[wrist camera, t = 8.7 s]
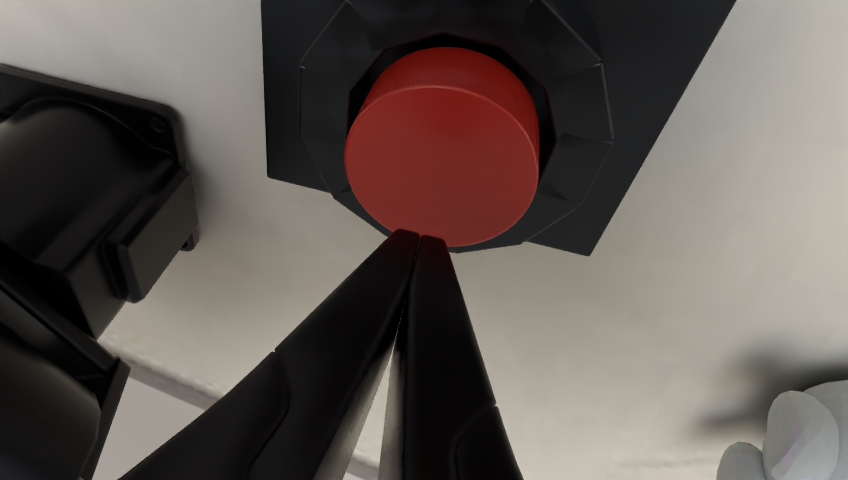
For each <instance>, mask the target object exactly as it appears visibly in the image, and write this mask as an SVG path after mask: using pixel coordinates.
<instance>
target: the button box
mask: <svg viewBox="0 0 848 480" xmlns="http://www.w3.org/2000/svg"><path fill="white" fill-rule="evenodd" d="M735 2H736V0H261V21H262V48H263V74H264V101H265V127H266V154H267V176H268V177H269V178H272V179H276V180H280V181H284V182H288V183H292V184H296V185H300V186H304V187H308V188H312V189H316V190H320V191H324V192H328V193H331V195H332V196H333V198H334V199H335V200H337V201H338V202H339V203H341V204H342V205H344V206H345V207H346V208H348V209H349V210H351V211H352V212H353V213H355V214H356V215H358V216H359V217H360V218H362V219H363V220H364V221H366V222H367V223H369V224H370V225H371V226H373V227H374V228H376V229H377V230H378V231H380V232H381V233H383V234H384V235H385V236H387V237H389V236H390V235H391V234H392V233H393V231H391V230H389V229H388V228H386V227H385V226H383V225H382V224H380V223H379V222H378V221H377V220H375V219H374V218H373V217H372V216H371V215H370V214H369V213H368V212H367V211H366V210H365V209H364V207H363V206H362V205H361V204H360V202H359V201H358V199H357V198H356V196H355V195H354V193H353V191H352V189H351V186H350V184H349V181H348V178H347V174H346V170H345V163H344V150H345V144H346V140H347V137H348V134H349V131H350V129H351V127H352V125H353V123H354V121H355V119H356V117H357V115H358V113H359V111H360V109H361V107H362V105H363V103H364V101H365V99H366V97H367V95H368V93H369V91H370V89H371V88H372V86H373V84H374V82H375V81H376V80H377V78H378V77H379V76H380V74H381V73H382V72H383V71H384V70H385V69H386V68H387V67H388V66H390V65H391V64H393V63H394V62H395V61H397V60H398V59H400V58H402V57H404V56H406V55H408V54H410V53H413V52H416V51H419V50H423V49H427V48H433V47H459V48H464V49H470V50H473V51H476V52H479V53H482V54H484V55H487V56H489V57H491V58H493V59H495V60H496V61H498V62H500V63H501V64H503V65H504V66H506V67H507V68H508V69H509V70H510V71H512V72H513V73H514V74H515V75H516V76H517V77H518V78H519V80H520V81H521V82H522V83H523V84H524V86H525V87H526V89H527V90H528V92H529V93H530V95H531V97H532V100H533V102H534V104H535V107H536V110H537V114H538V120H539V178H538V184H537V189H536V192H535V195H534V198H533V200H532V202H531V204H530V206H529V208H528V209H527V210H526V212H525V213H524V214H523V216H522V217H521V218H520V219H519V220H518V221H517V222H516V223H515V224H514V225H513V226H511V227H510V228H509V229H508V230H506V231H505V232H503V233H501V234H500V235H498V236H496V237H494V238H491V239H489V240H486V241H483V242H480V243H477V244H472V245H467V246H456V247H448V251H449V252H451V253H454V252H455V253H463V252H470V251H477V250H485V249H492V248H499V247H506V246H513V245H520V244H522V242H526V241H527V242H531V243H535V244H539V245H543V246H547V247H551V248H555V249H559V250H563V251H568V252H572V253H576V254H580V255H584V256H590V255H591V253H592V251H593V250H594V248H595V246H596V244H597V243H598V241H599V239H600V237H601V236H602V234H603V232H604V230H605V229H606V227H607V225H608V223H609V222H610V220H611V218H612V217H613V215H614V213H615V211H616V210H617V208H618V206H619V204H620V203H621V201H622V199H623V197H624V196H625V194H626V192H627V190H628V189H629V187H630V185H631V183H632V182H633V180H634V178H635V176H636V175H637V173H638V171H639V169H640V168H641V166H642V164H643V163H644V161H645V159H646V157H647V156H648V154H649V152H650V150H651V149H652V147H653V145H654V143H655V142H656V140H657V138H658V136H659V135H660V133H661V131H662V129H663V128H664V126H665V124H666V122H667V121H668V119H669V117H670V115H671V114H672V112H673V110H674V108H675V107H676V105H677V103H678V102H679V100H680V98H681V96H682V95H683V93H684V91H685V89H686V88H687V86H688V84H689V82H690V81H691V79H692V77H693V75H694V74H695V72H696V70H697V68H698V67H699V65H700V63H701V61H702V60H703V58H704V56H705V54H706V53H707V51H708V49H709V48H710V46H711V44H712V42H713V41H714V39H715V37H716V35H717V34H718V32H719V30H720V28H721V27H722V25H723V23H724V21H725V20H726V18H727V16H728V14H729V13H730V11H731V9H732V7H733V6H734V4H735Z"/></svg>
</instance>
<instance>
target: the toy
mask: <svg viewBox="0 0 848 480" xmlns="http://www.w3.org/2000/svg"><path fill="white" fill-rule="evenodd" d="M716 480H848V380H844V381H833V382H826V383H823V384H820V385H817V386H814V387H811V388H808V389H807V390H805V391H804V392H799V391H787V392H784V393H781V394H780V395H779V396H778V397H777V398H776V399H775V400H774V401H773V403H772V405H771V408H770V410H769V412H768V422H767V434H766V437H765V440H764V443H763V449H762V452H761V451H760V450H759V449H758V448H756V447H755V446H753V445H752V444H750V443H745V442H736V443H734V444H733V445H731V446H729V447H728V448H727V449H726V451H725V452H724V454H723V456H722V458H721V461H720V464H719V467H718V472H717V479H716Z"/></svg>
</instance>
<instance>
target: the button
mask: <svg viewBox="0 0 848 480" xmlns="http://www.w3.org/2000/svg"><path fill="white" fill-rule="evenodd" d="M344 163H345V170H346V174H347V178H348V181H349V184H350V186H351V189H352V191H353V193H354V195H355V196H356V198H357V199H358V201H359V202H360V204H361V205H362V206H363V207H364V209H365V210H366V211H367V212H368V213H369V214H370V215H371V216H372V217H373V218H374V219H375V220H377V221H378V222H379V223H380V224H382V225H383V226H385V227H386V228H388V229H389V230H391V231H393V232H394V231H395V230H397V229H399V228H402V229H406V230H410V231H414V232H418V233H419V234H420V238H421V236H422V235H424V234H426V235H430V236H434V237H439V238H442V239H444V240H445V242H446V244H447V247H456V246H467V245H472V244H477V243H480V242H483V241H486V240H489V239H491V238H494V237H496V236H498V235H500V234H501V233H503V232H505V231H506V230H508V229H509V228H510V227H511V226H513V225H514V224H515V223H516V222H517V221H518V220H519V219H520V218H521V217H522V216H523V214H524V213H525V212H526V210H527V209H528V208H529V206H530V204H531V202H532V200H533V198H534V195H535V192H536V189H537V184H538V178H539V120H538V114H537V110H536V107H535V104H534V102H533V100H532V97H531V95H530V93H529V92H528V90H527V89H526V87H525V86H524V84H523V83H522V82H521V81H520V80H519V78H518V77H517V76H516V75H515V74H514V73H513V72H512V71H510V70H509V69H508V68H507V67H506V66H504V65H503V64H501V63H500V62H498V61H496V60H495V59H493V58H491V57H489V56H487V55H484V54H482V53H479V52H476V51H473V50H470V49H464V48H459V47H433V48H427V49H423V50H419V51H416V52H413V53H410V54H408V55H406V56H404V57H402V58H400V59H398V60H397V61H395V62H394V63H393V64H391V65H390V66H388V67H387V68H386V69H385V70H384V71H383V72H382V73H381V74H380V76H379V77H378V78H377V80H376V81H375V82H374V84H373V86H372V88H371V89H370V91H369V93H368V95H367V97H366V99H365V101H364V103H363V105H362V107H361V109H360V111H359V113H358V115H357V117H356V119H355V121H354V123H353V125H352V127H351V129H350V131H349V134H348V137H347V140H346V144H345V150H344ZM419 242H420V241H419Z"/></svg>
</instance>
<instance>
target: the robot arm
mask: <svg viewBox="0 0 848 480" xmlns="http://www.w3.org/2000/svg"><path fill="white" fill-rule="evenodd" d="M158 118H159V119H161V120H162V121H163V122H164V123H165V124H163V123H161V122H160V121H159V120H158ZM197 225H198V216H197V210H196V204H195V198H194V192H193V186H192V180H191V175H190V173H189V171H188V169H187V166H186V160H185V154H184V148H183V142H182V136H181V130H180V124H179V120H178V117H177V116H176V114H175V113H174V112H173V111H172V110H171V109H170V108H168V107H166V106H164V105H161V104H157V103H153V102H149V101H145V100H141V99H137V98H133V97H129V96H125V95H121V94H117V93H113V92H109V91H105V90H101V89H96V88H92V87H88V86H84V85H80V84H76V83H72V82H68V81H64V80H60V79H56V78H52V77H48V76H44V75H40V74H36V73H32V72H28V71H24V70H19V69H15V68H11V67H7V66H3V65H0V480H92V477H93V475H94V472H95V469H96V466H97V463H98V460H99V457H100V455H101V452H102V449H103V446H104V443H105V440H106V438H107V435H108V432H109V429H110V426H111V424H112V420H113V418H114V415H115V412H116V409H117V407H118V404H119V401H120V398H121V395H122V393H123V390H124V387H125V384H126V381H127V378H128V376H129V373H130V370H131V367H130V366H129V365H128V364H127V363H126V362H124V361H123V360H122V359H121V358H120V357H118V356H115V357H114V356H113V355H112V354H111V353H109V352H108V351H107V350H106V349H105V348H104V347H102V346H101V345H100V344H99V343H98V342H97V340H98V338H99V337H100V336H101V334H102V333H103V332H104V330H105V329H106V328H107V326H108V325H109V324H110V322H111V321H112V320H113V318H114V317H115V316H116V314H117V313H118V312H119V311H120V309H121V308H122V307H123V305H124V304H125V303H126V302H130V303H138V302H139V301H141V300H142V299H144V298H145V296H146V295H147V294H148V292H149V291H150V290H151V288H152V287H153V285H154V284H155V283H156V281H157V280H158V279H159V277H160V276H161V274H162V273H163V272H164V270H165V269H166V268H167V266H168V265H169V263H170V262H171V261H172V259H173V258H174V257H175V255H176V254H177V252H178V251H179V250H181V251H187V252H188V251H192V250H193V249H194V247H195V246H196V245H197V243H198V242H199V237H198V231H197ZM419 241H420V242H419ZM418 245H419V246H418ZM417 249H418V250H417ZM416 253H417V254H416ZM415 257H416V258H415ZM404 302H405V303H404ZM403 306H404V307H403ZM402 310H403V311H402ZM401 314H402V315H401ZM400 318H401V319H400ZM399 322H400V323H399ZM398 326H399V327H398ZM397 330H398V332H397ZM396 335H397V336H396ZM395 339H396V340H395ZM394 342H395V345H394ZM393 346H394V349H393ZM392 349H393V355H392V362H391V369H390V378H389V387H388V396H387V405H386V413H385V422H384V431H383V440H382V449H381V457H380V466H379V475H378V480H524V479H523V477H522V474H521V472H520V470H519V467H518V465H517V462H516V460H515V457H514V454H513V451H512V448H511V445H510V442H509V440H508V437H507V434H506V431H505V428H504V425H503V422H502V418H501V415H500V412H499V409H498V407H497V406H495V405H496V400H495V397H494V394H493V391H492V387H491V384H490V381H489V378H488V375H487V371H486V368H485V365H484V362H483V359H482V356H481V352H480V349H479V346H478V343H477V340H476V336H475V333H474V330H473V327H472V324H471V321H470V317H469V314H468V311H467V308H466V305H465V301H464V298H463V295H462V292H461V289H460V286H459V282H458V279H457V276H456V273H455V270H454V267H453V263H452V260H451V257H450V254H449V251H448V247H447V244H446V242H445V240H444V239H442V238H439V237H434V236H430V235H426V234H424V235H422V236H421V238H420V234H419V233H418V232H414V231H410V230H406V229H402V228H399V229H397V230H395V231H394V232H393V233H392V234H391V235H390V236H389V237H388V238H387V239H386V240H385V241H384V242H383V243H382V244H381V245H380V246H379V247H378V248H377V249H376V250H375V251H374V252H373V253H372V254H371V255H370V256H369V257H368V258H367V259H366V260H365V261H364V262H363V263H362V264H360V265H359V266H358V267H357V268H356V269H355V270H354V271H353V272H352V273H351V274H350V275H349V276H348V277H347V278H346V279H345V280H344V281H343V282H342V283H341V284H340V285H339V286H338V287H337V288H336V289H335V290H334V291H333V292H332V293H331V294H330V295H329V296H328V297H327V298H326V299H325V300H324V301H323V302H322V303H321V304H320V305H319V306H318V307H317V308H316V309H315V310H314V311H313V312H312V313H311V314H310V315H309V316H308V317H307V318H306V319H305V320H304V321H302V322H301V323H300V324H299V325H298V326H297V327H296V328H295V329H294V330H293V331H292V332H291V333H290V334H289V335H288V336H287V337H286V338H285V339H284V340H283V341H282V342H281V343H280V344H279V345H278V346H277V347H276V348H275V352H271V353H270V354H269V355H268V356H267V357H266V358H265V359H264V360H262V361H261V362H260V363H259V364H258V365H257V366H256V367H255V368H254V369H253V370H252V371H251V372H250V373H249V374H248V375H247V376H246V377H245V378H243V379H242V380H241V381H240V382H239V383H238V384H237V385H236V386H235V387H234V388H233V389H232V390H230V391H229V392H228V393H227V394H226V395H225V396H223V397H222V398H221V399H220V400H218V401H217V402H216V403H215V404H214V405H212V406H211V407H210V408H209V409H207V410H206V411H205V412H204V413H203V414H201V415H200V416H199V417H198V418H197V419H195V420H194V421H193V422H191V423H190V424H189V425H187V426H186V427H185V428H184V429H183V430H181V431H180V432H178V433H177V434H176V435H175V436H173V437H172V438H171V439H169V440H168V441H167V442H166V443H164V444H163V445H162V446H160V447H159V448H158V449H157V450H155V451H154V452H153V453H151V454H150V455H149V456H148V457H146V458H145V459H144V460H142V461H141V462H140V463H139V464H137V465H136V466H135V467H134V468H132V469H131V470H130V471H128V472H127V473H126V474H124V475H123V476H122V477H121V478H119V479H118V480H342V479H343V477H344V474H345V472H346V469H347V467H348V464H349V462H350V459H351V456H352V454H353V451H354V449H355V446H356V444H357V441H358V438H359V436H360V433H361V431H362V428H363V426H364V423H365V420H366V418H367V415H368V413H369V410H370V408H371V405H372V403H373V400H374V397H375V395H376V392H377V390H378V387H379V385H380V382H381V379H382V377H383V374H384V372H385V369H386V367H387V364H388V361H389V358H390V355H391V353H392Z"/></svg>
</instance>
